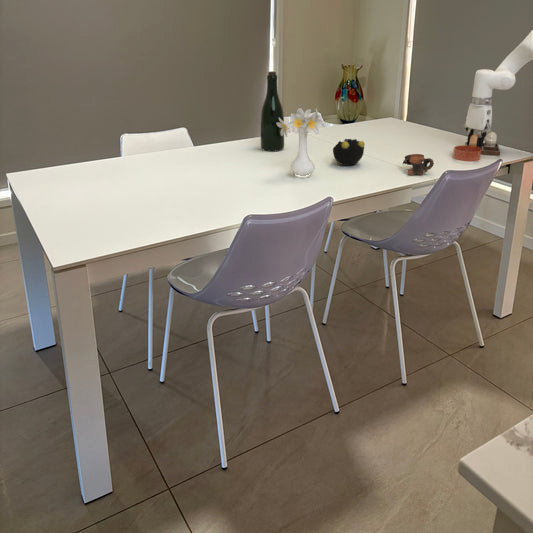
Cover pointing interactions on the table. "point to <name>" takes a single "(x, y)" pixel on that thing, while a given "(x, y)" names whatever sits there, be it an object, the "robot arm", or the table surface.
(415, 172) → the pottery mug
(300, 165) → the flower vase
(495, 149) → the egg holder
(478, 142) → the robot arm
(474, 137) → the egg
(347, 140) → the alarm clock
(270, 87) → the wine bottle
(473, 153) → the bowl
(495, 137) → the egg
